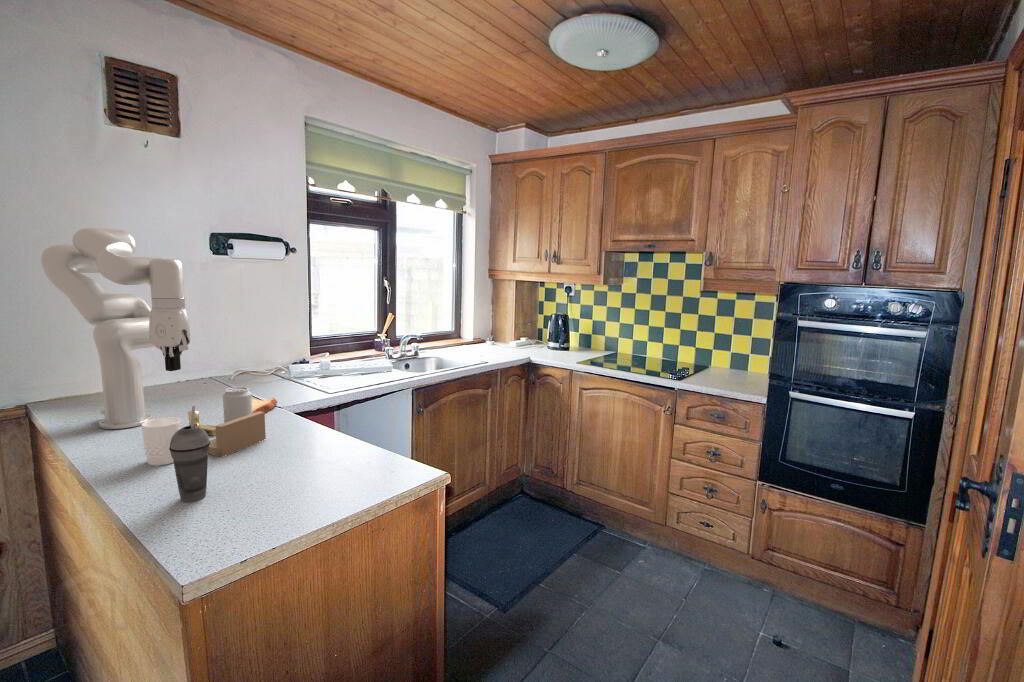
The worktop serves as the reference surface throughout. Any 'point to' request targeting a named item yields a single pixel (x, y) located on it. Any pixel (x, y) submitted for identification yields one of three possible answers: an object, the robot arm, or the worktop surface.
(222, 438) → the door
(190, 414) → the bolt
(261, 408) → the slice of bread
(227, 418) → the can
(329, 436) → the worktop surface
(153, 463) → the white cup
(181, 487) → the beverage cup
